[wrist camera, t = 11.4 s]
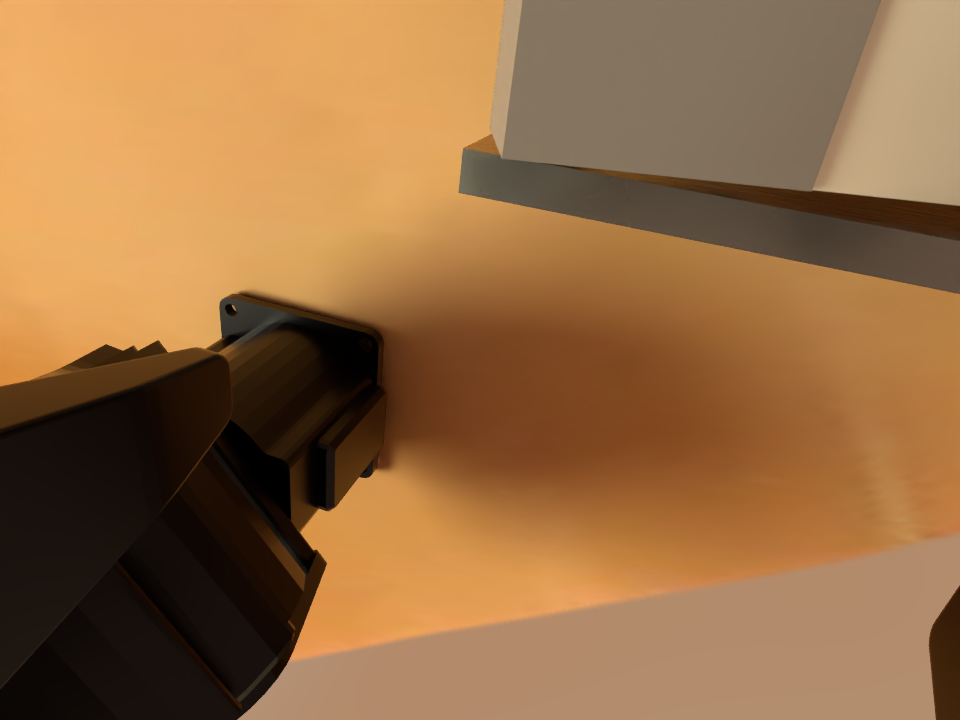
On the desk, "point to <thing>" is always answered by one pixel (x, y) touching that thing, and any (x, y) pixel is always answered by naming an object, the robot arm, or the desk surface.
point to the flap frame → (738, 215)
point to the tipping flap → (738, 91)
